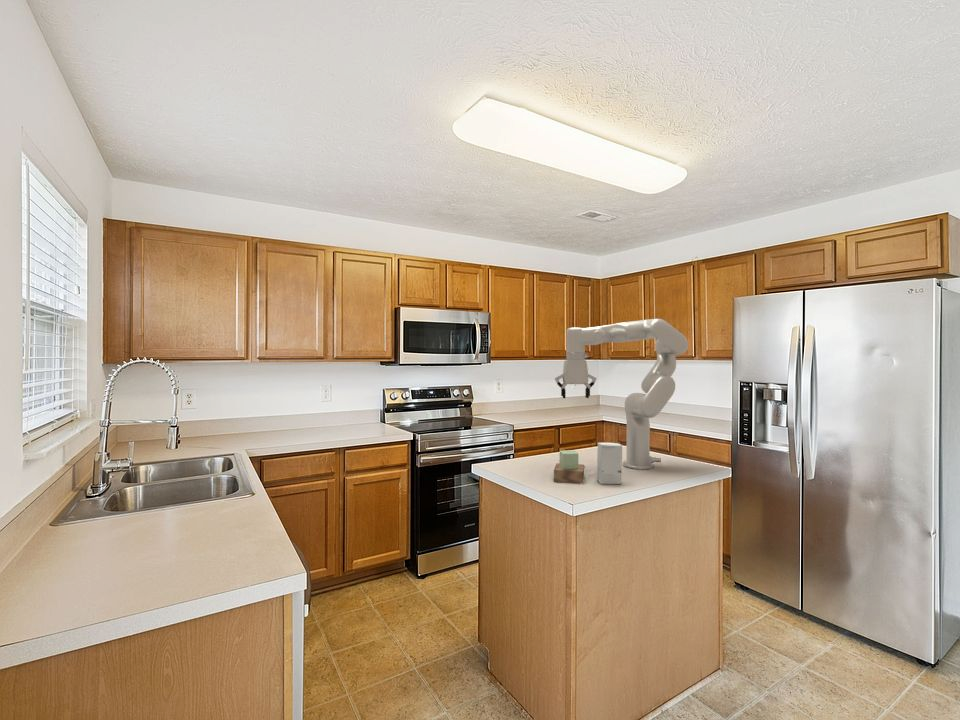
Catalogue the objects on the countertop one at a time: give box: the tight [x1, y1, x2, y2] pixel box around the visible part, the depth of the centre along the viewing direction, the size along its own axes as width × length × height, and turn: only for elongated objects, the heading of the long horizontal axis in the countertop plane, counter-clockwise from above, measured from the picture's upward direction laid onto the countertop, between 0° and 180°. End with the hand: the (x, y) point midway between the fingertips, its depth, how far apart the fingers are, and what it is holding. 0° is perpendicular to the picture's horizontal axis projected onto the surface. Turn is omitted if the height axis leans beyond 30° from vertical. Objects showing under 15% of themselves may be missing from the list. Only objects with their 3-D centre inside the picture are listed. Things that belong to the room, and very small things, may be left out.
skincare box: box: [596, 442, 623, 485], centre depth 183 cm, size 8×6×15 cm
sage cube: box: [559, 449, 579, 469], centre depth 188 cm, size 6×6×6 cm
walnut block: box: [553, 462, 585, 484], centre depth 188 cm, size 11×11×5 cm
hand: (575, 397), depth 201 cm, fingers open, 9 cm apart
